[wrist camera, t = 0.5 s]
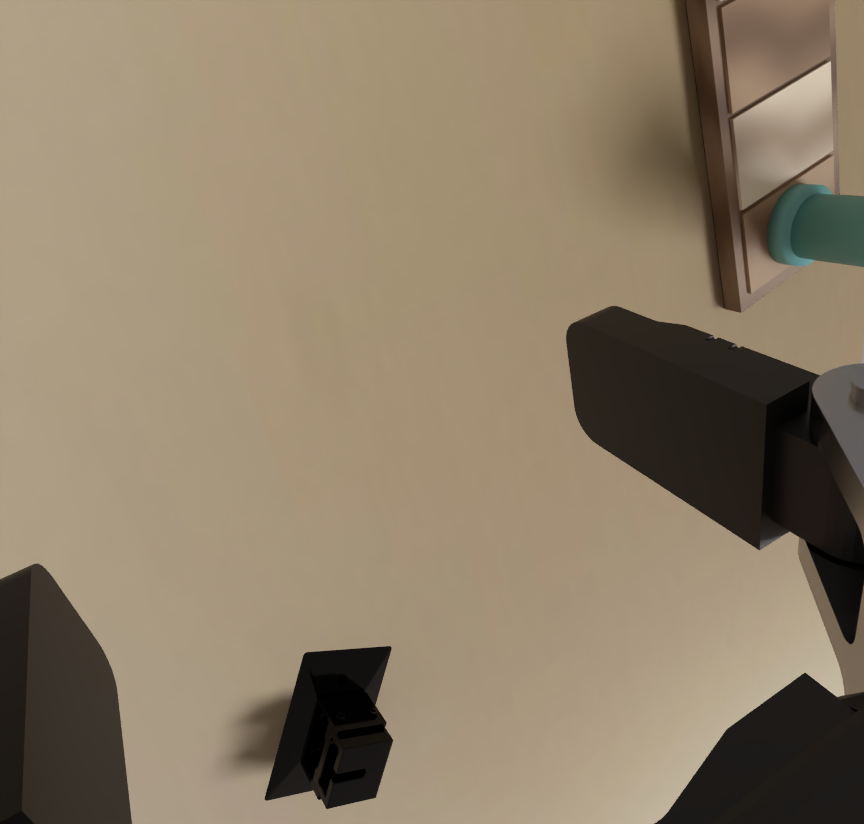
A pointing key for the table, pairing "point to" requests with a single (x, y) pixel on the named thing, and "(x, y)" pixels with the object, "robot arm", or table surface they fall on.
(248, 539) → the table surface
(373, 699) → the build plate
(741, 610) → the table surface
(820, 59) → the board
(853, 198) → the pawn
